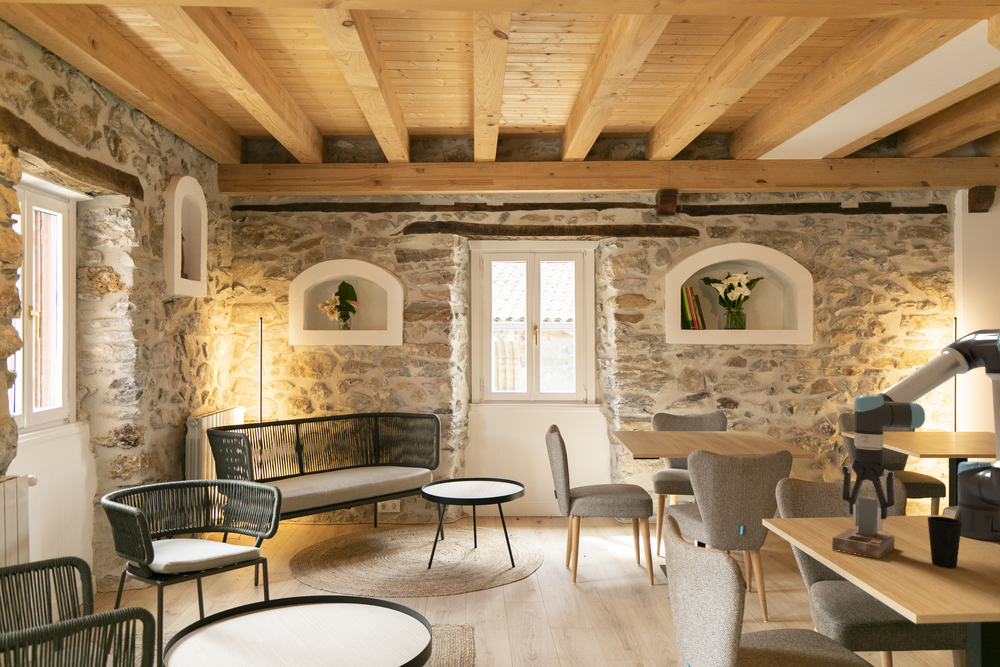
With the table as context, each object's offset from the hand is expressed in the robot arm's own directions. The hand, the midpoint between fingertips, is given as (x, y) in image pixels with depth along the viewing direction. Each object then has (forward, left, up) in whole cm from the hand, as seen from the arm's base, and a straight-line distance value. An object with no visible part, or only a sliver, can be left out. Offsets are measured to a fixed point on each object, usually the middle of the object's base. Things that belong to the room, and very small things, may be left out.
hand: (867, 527), depth 204 cm
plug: (0, 0, -5) cm, 5 cm away
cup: (-20, +5, -6) cm, 21 cm away
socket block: (0, +4, -5) cm, 7 cm away
